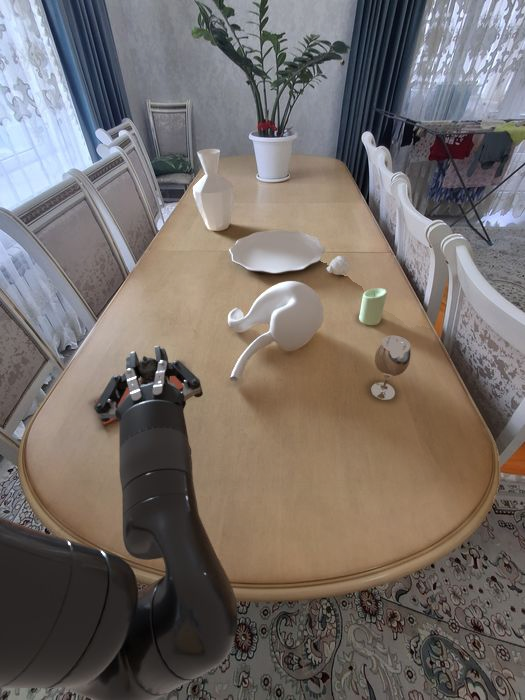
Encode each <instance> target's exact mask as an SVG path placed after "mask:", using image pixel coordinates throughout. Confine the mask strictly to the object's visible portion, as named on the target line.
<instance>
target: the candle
mask: <svg viewBox="0 0 525 700" xmlns="http://www.w3.org/2000/svg"><path fill="white" fill-rule="evenodd" d="M387 293H388V291H387V289H385V288H381V287H377V288H376V287H375V288H371V289H368V290H365V292H363V293H362V299H361V304H360V311H359V317H358V319H359V321H360V322H361V323H362V324H364V325H367V326H376V325H378V324H380V323H381V320H382V316H383V311H384V307H385V303H386V298H387Z"/></svg>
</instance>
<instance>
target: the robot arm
mask: <svg viewBox="0 0 525 700" xmlns="http://www.w3.org/2000/svg"><path fill="white" fill-rule="evenodd" d="M154 353H155V360H156V362H157V365H158V368H157V372H156V373H155V381H153V382H151V383H148V384H140V383H139V381H140V380H139V379H141V376H140V374H139V371H138V368H137V365H138V363H139V362H140V359H139V357H138V354H137V352H136V351H130V352H129V356H126V359H125V371H124V373H123V374H115V375H113V376H111V378H110V380H109V381H108V383H107V384H106V386H105V388H104V389H103V391H102V393H101V394H100V396H99V398H98V399H99V400H98V401H97V403H95V405H94V407H93V408H94V411H95V412H96V413H95V414H97V416H98V418H99V419H100V420H101V422H102V423H103V422H107V421H109V420H110V419H111V418H114V419H118V420H117V421H118V425H119V427H118V428H119V429H118V430H119V431H118V432H119V445H118V446H119V447H118V448H119V450H118V451H119V453H118V455H119V456H118V457H119V458H118V459H119V460H118V462H119V463H118V465H119V468H118V469H119V480H120V486H121V494H122V495H121V497H122V502H121V503H122V539H123V545H124V548H125V550H126V551H127V553H128V554H129V555H130V556H131V557H133V558H135V559H138V560H145V561H150V560H158V559H163V562H164V569H165V571H164V576H161V578H158V579H157V580H155V581H154V582H152V583H151V584H149V585H147V586H145V587H144V588H142V589H140V590H139V584H138V579H137V577H136V574H135V571H134V570H133V568H132V567H131V565H130V564H129V563H128V562H126V560H124V559H123V558H121V557H120V556H117V555H115V554H113V553H111V552H108V551H105V550H103V549H100V548H95V547H93V546H89V545H88V544H83V543H79V542H77V541H74V540H70V539H67V538H64V537H61V536H57V535H54V534H50V533H47V532H43V531H40V530H38V529H34V528H31V527H29V526H26V525H23V524H20V523H18V522H15V521H12V520H9V519H7V518H5V517H2V516H0V689H1V688H2V689H4V688H5V689H45V690H47V689H61V688H66V689H67V690H69V691H71V692H72V693H75V694H76V695H79V696H81V697H84V698H87V699H90V700H157V699H159V698H161V697H163V696H165V695H167V694H169V693H170V692H172V691H174V690H176V689H178V688H180V687H182V686H184V685H185V684H187V683H189V682H191V681H193V680H195V679H197V678H199V677H201V676H202V675H205V674H206V673H208V672H210V671H212V670H214V669H215V668H217V667H219V666H220V665H221V664H222V663H223V662H224V661H225V660H227V659H226V658H227V657H228V656H229V655H230V653H231V651H232V648H233V646H234V643H235V639H236V635H237V628H238V604H237V599H236V598H237V597H236V594H235V592H234V591H235V590H234V588H233V586H232V584H231V580H230V579H229V577H228V575H227V573H226V571H225V568H224V567H223V564H222V563H221V561H220V559H219V557H218V555H217V553H216V551H215V548H214V547H213V544H212V542H211V539H210V538H209V535H208V533H207V530H206V529H205V526H204V524H203V521H202V518H201V516H200V513H199V507H198V501H197V496H196V490H195V483H194V477H193V475H194V474H193V457H192V448H191V446H190V441H189V435H188V428H187V424H186V417H185V413H184V411H185V407H186V405H187V401H188V400H189V399H191V398H193V397H195V398H200V397H202V396H203V395H204V392H203V389H202V385H201V381H200V379H199V378H198V377H197V376H196V375H195V374H194V373H193V372H192V371H191V370H189V368H188V367H186V365H184V363H182V362H181V361H180V360H178V359H176V360H173V361H172V362H169V357H168V354H167V351H166V349H165V348H164V347H163V348H161V346H160V345H156V346H154ZM171 376H175V377H176V378H177V379H178V380H179V381H180V382H181V383H182V387H183V389H182V391H181V390H178V389H176V388H175V387H173V386H171V385H170V379H171ZM128 387H129V391H130V392H129V394H128V395H127V396H126V397H125V399H124V400H123V401H122V402H121V404H120V405H119V406H118V404H119V402H120V400H121V398H122V396H123V395H124V393H125V391H126V388H128Z"/></svg>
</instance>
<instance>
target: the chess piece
mask: <svg viewBox="0 0 525 700" xmlns="http://www.w3.org/2000/svg"><path fill="white" fill-rule="evenodd" d="M137 368H138V371H139V374H140V380H141V381H140V380H139V381H140V383H141V384H148V383H151V382H153V381H155V373H156V372H157V368H158V365H157V362H156V358H154V357H147V356H145V355H143V356H142V358H141V360H139V363H138V365H137ZM170 385H171V386H173V387H175V388H176V389H178V388H177V387H176V386H175V385H174V384H172V383H170Z"/></svg>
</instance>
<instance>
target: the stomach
mask: <svg viewBox="0 0 525 700" xmlns="http://www.w3.org/2000/svg"><path fill="white" fill-rule="evenodd" d="M324 319H325V310H324V305H323V302H322V300H321V298H320V296H319V295H318V293H316V291H315V290H314V289H312V288H311V287H310V286H309V285H307V284H306V283H303V282H300V281H294V280H287V281H282V282H278V283H276V284H274V285H273V286H271V287H269V288H268V289H266V290H265V291H263V293H261V294H260V295H259V296H258V297H257V298H256V300H254V302H253V304H252V306H251V308H250V310H249V311H248V313H247V314H246V315H244V313H243V311H242V310H241V309H240V308H238V307H235V308H234V309H232V310H231V311H230V312H229V313H228V316H227V323H228V326H229V327H230V329H231V330H232V331H233V332H235V333H244V332H247V331H248V330H249V329H251V328H252V327H254V326H255V325H269V330H268V331H267V332H265V333H263V334H261V335H259V336H258V337H257V338H255V340H253V341H252V342H251V343H250V345H248V346H247V348H246V349H245V350H244V352H242V354H241V355H240V357H239V358H238V360H237V362H236V364H235V366H234V367H233V370H232V372H231V374H230V377H229V380H230V381H232V382H234V383H237V382H239V380H240V378H241V376H242V374H243V371H244V369H245V367H246V365H247V363H248V362H249V360H250V359H251V358H252V356H254V354H256V353H257V352H258V351H260V350H261V349H263V348H265V347H267V346H270V345H271V344H273V342H275V343H276V345H277V346H278V347H280V348H281V349H283V350H285V351H287V352H292V351H293V352H294V351H296V350H299V349H301V348H302V347H304V346H305V345H307V344H308V343H309V342H310V340H311V339H312V338H313V337H314V335H316V333H317V332H318V331H319V330H320V328H321V327H322V325H323V323H324Z"/></svg>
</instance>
